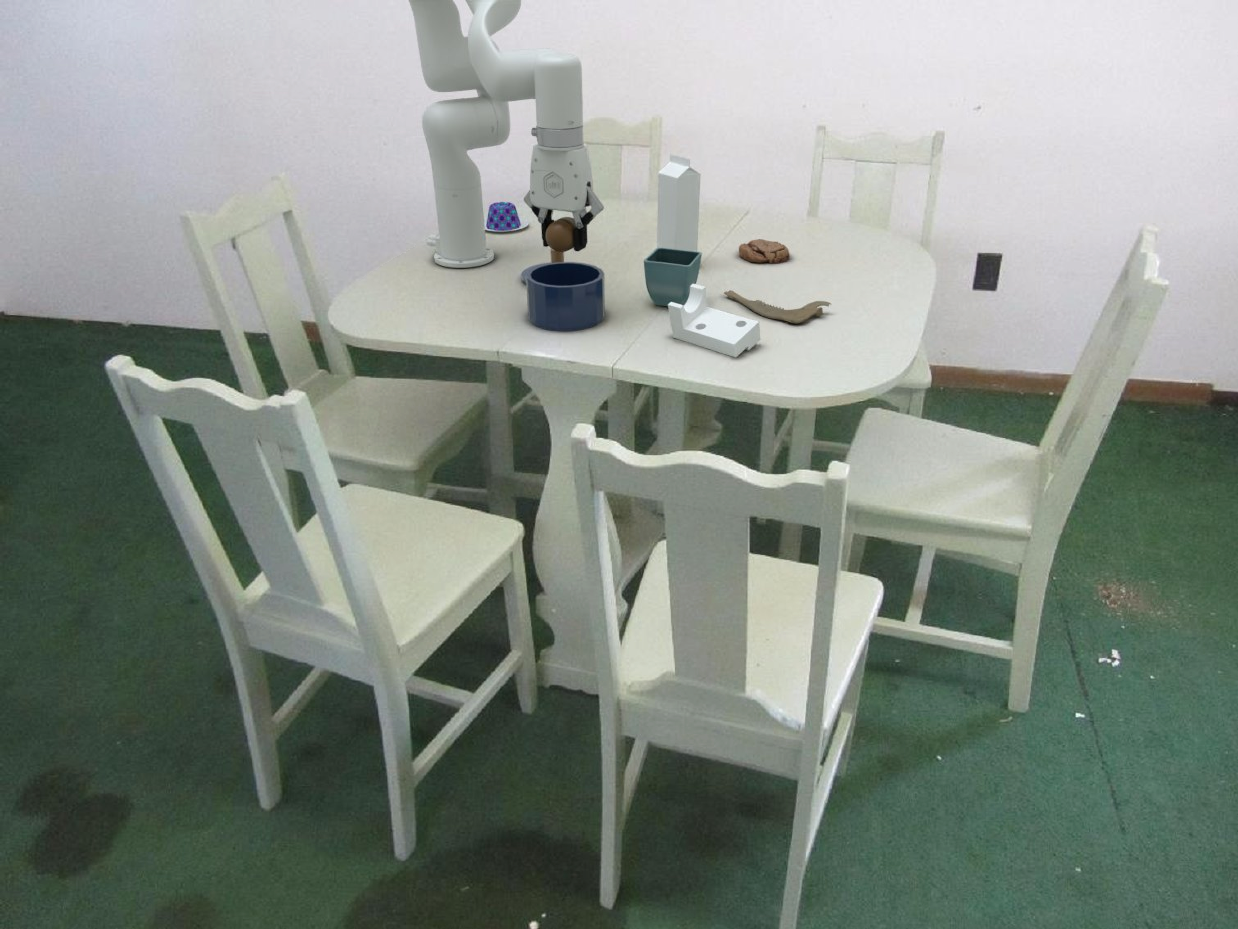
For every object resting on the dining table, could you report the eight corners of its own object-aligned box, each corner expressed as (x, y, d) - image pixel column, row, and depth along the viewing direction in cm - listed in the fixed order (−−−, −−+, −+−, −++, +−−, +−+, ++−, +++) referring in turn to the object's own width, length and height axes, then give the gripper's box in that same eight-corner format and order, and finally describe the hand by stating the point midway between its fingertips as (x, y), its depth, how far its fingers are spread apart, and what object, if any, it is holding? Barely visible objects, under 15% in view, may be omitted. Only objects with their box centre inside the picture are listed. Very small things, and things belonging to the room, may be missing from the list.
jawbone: (816, 332, 158) (817, 321, 157) (706, 314, 166) (706, 304, 165) (830, 311, 164) (831, 300, 163) (724, 295, 173) (725, 285, 171)
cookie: (791, 264, 188) (792, 250, 187) (740, 264, 189) (741, 249, 187) (785, 249, 197) (787, 236, 195) (736, 249, 197) (737, 235, 196)
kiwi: (567, 257, 153) (566, 225, 150) (540, 253, 155) (538, 222, 152) (590, 245, 159) (589, 214, 156) (563, 241, 161) (562, 210, 158)
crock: (513, 323, 161) (511, 279, 157) (553, 299, 171) (552, 257, 167) (580, 336, 155) (579, 292, 151) (617, 310, 166) (617, 268, 162)
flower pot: (700, 297, 172) (702, 251, 167) (688, 313, 164) (690, 265, 160) (656, 292, 174) (657, 246, 169) (642, 308, 167) (642, 260, 162)
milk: (674, 273, 184) (677, 161, 173) (656, 265, 188) (657, 155, 177) (697, 267, 187) (701, 156, 176) (678, 259, 191) (681, 151, 180)
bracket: (673, 341, 156) (667, 304, 151) (698, 320, 159) (693, 283, 154) (736, 362, 148) (732, 323, 143) (760, 339, 152) (757, 300, 147)
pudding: (512, 236, 206) (510, 213, 203) (467, 230, 210) (465, 207, 208) (538, 223, 215) (537, 201, 213) (495, 217, 220) (493, 195, 217)
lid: (507, 284, 178) (505, 253, 175) (545, 263, 189) (544, 234, 186) (571, 296, 172) (570, 264, 169) (607, 273, 184) (607, 243, 180)
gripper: (503, 137, 148) (511, 246, 157) (595, 145, 141) (598, 259, 150) (528, 129, 154) (534, 235, 163) (617, 137, 147) (618, 247, 156)
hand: (564, 245), depth 157 cm, fingers closed on kiwi, 5 cm apart
